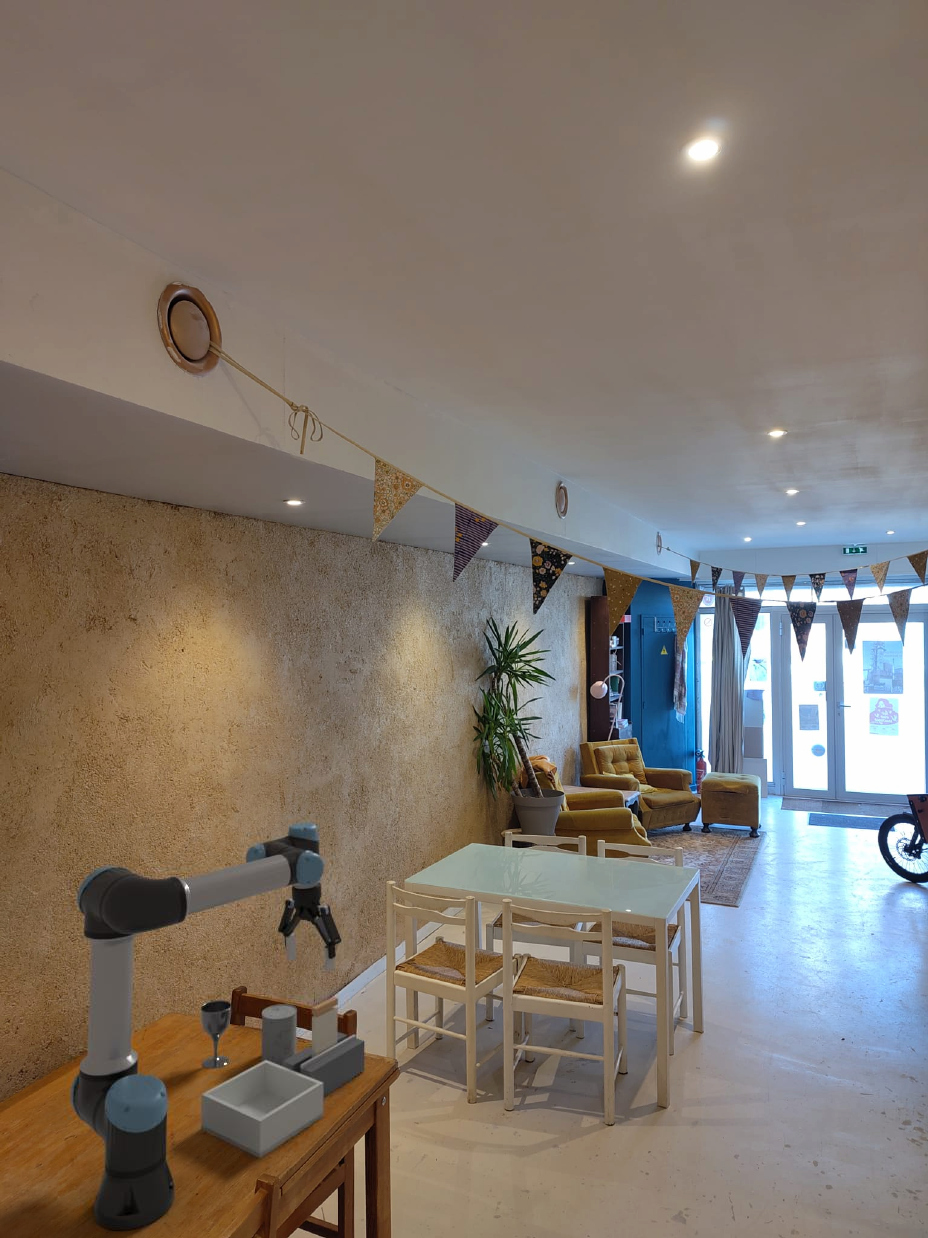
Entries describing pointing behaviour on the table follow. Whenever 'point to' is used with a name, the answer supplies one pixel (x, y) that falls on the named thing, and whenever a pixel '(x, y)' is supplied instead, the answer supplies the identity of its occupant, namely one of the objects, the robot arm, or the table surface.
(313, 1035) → the cream flat board
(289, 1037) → the grey cylinder
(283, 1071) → the bin
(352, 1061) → the dispenser
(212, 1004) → the wine glass
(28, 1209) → the table surface
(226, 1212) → the table surface
